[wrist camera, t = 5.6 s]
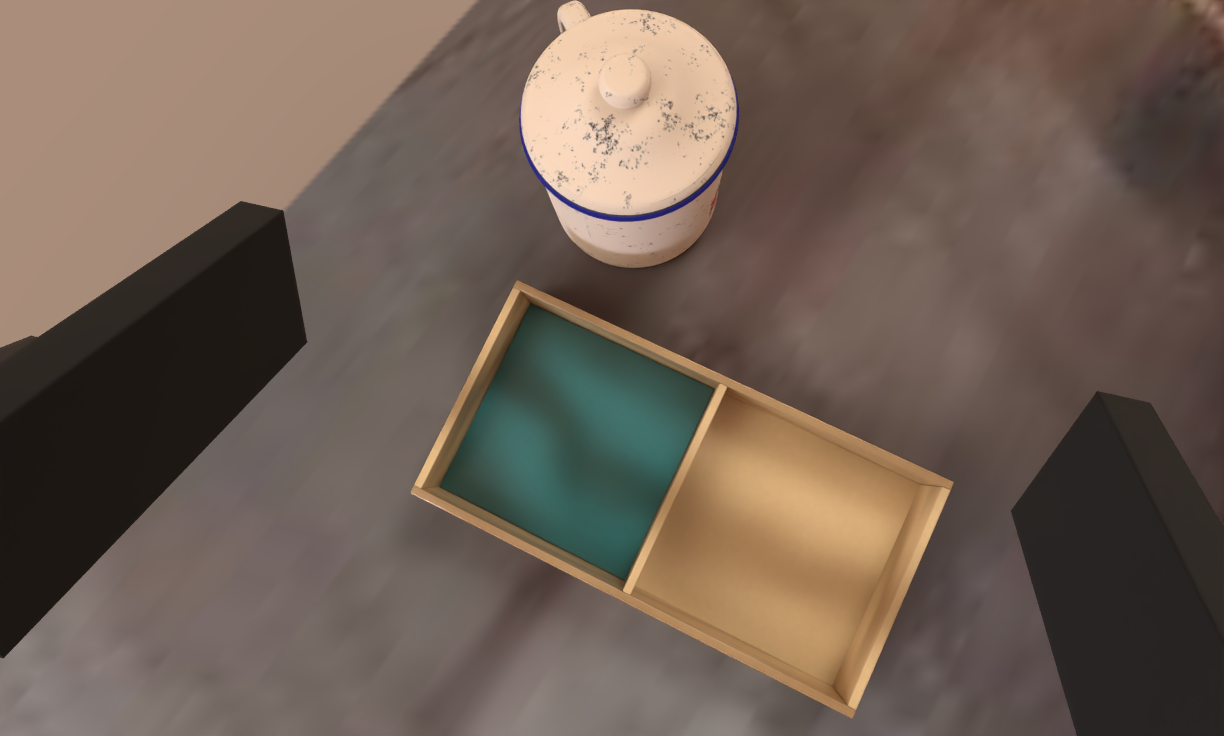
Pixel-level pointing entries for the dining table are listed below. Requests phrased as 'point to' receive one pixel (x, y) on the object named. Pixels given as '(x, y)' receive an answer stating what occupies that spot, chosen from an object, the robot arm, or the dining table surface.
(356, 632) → the dining table surface
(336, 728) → the dining table surface
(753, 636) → the organizer
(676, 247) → the teacup with lid
